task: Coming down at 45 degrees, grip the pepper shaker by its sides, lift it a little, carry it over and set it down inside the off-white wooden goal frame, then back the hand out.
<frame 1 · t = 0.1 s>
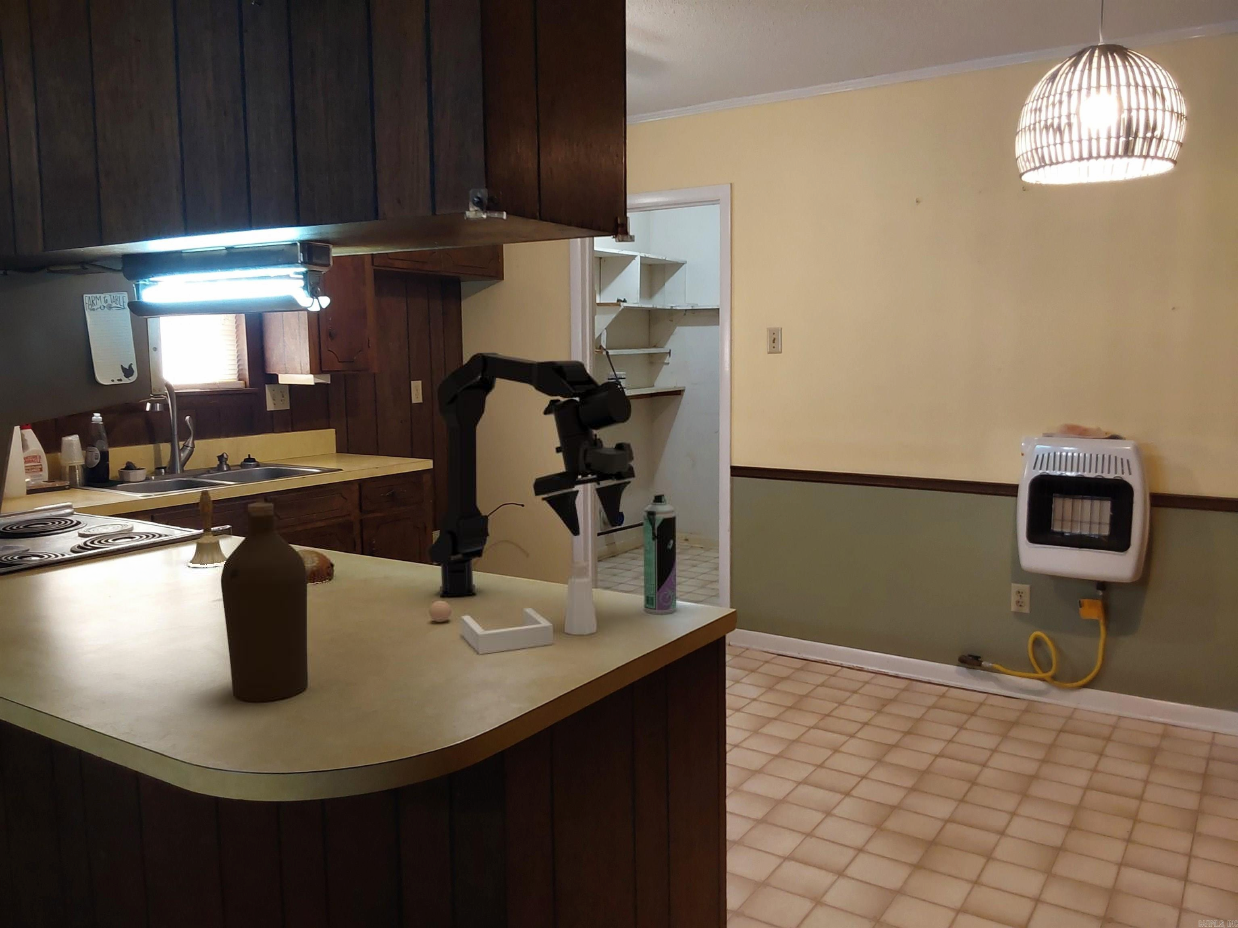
hand: (596, 531, 154), 15 cm above the counter, tool pointing down, fingers open, 9 cm apart
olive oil: (271, 691, 128), on the counter
pepper shaker: (580, 631, 153), on the counter
hand bell: (209, 565, 205), on the counter
bread roll: (308, 581, 190), on the counter
goal: (505, 638, 149), on the counter
spray can: (660, 611, 164), on the counter
ball: (440, 621, 159), on the counter
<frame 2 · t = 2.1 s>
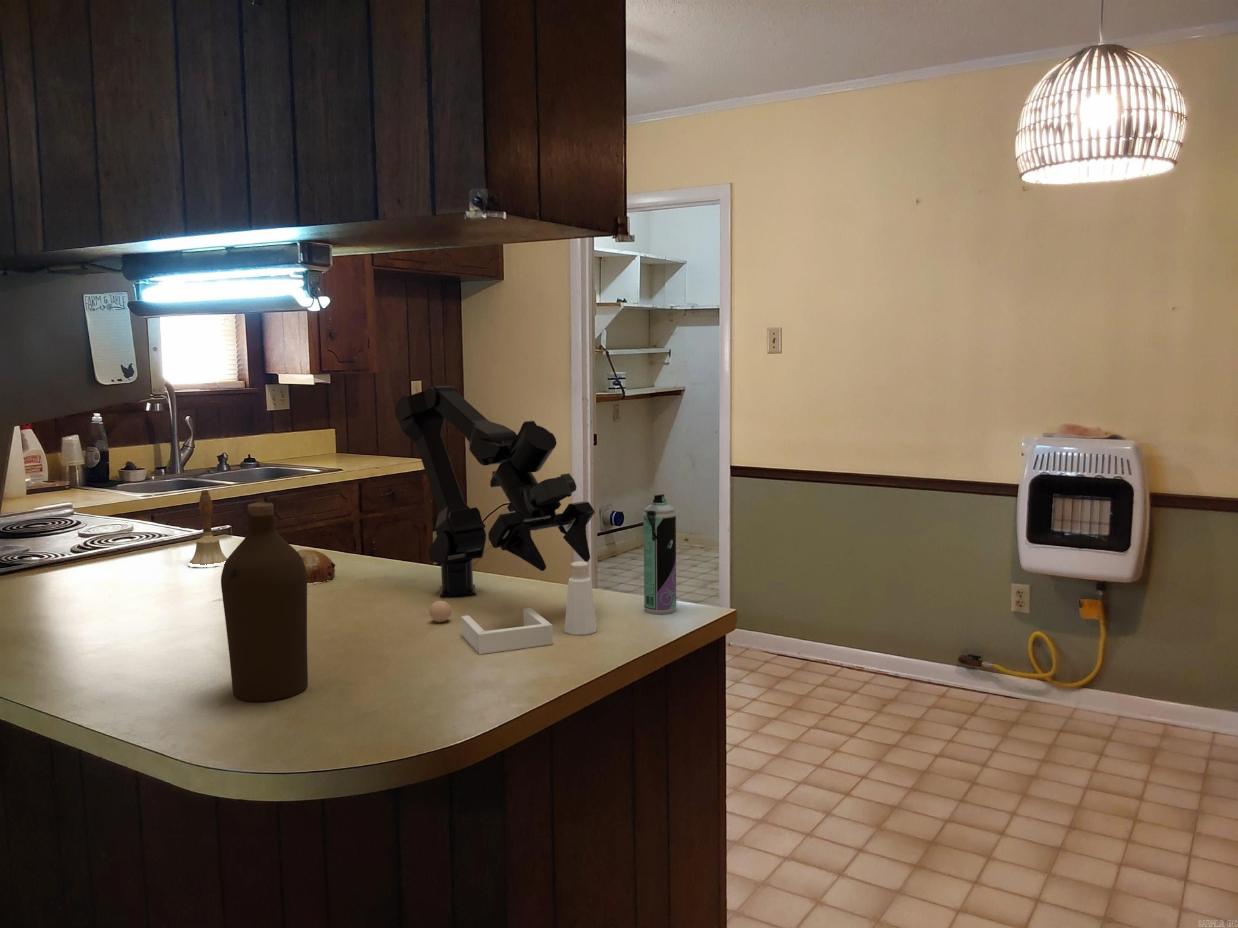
hand: (566, 564, 154), 10 cm above the counter, tool tilted 45°, fingers open, 9 cm apart
nothing on the counter moved.
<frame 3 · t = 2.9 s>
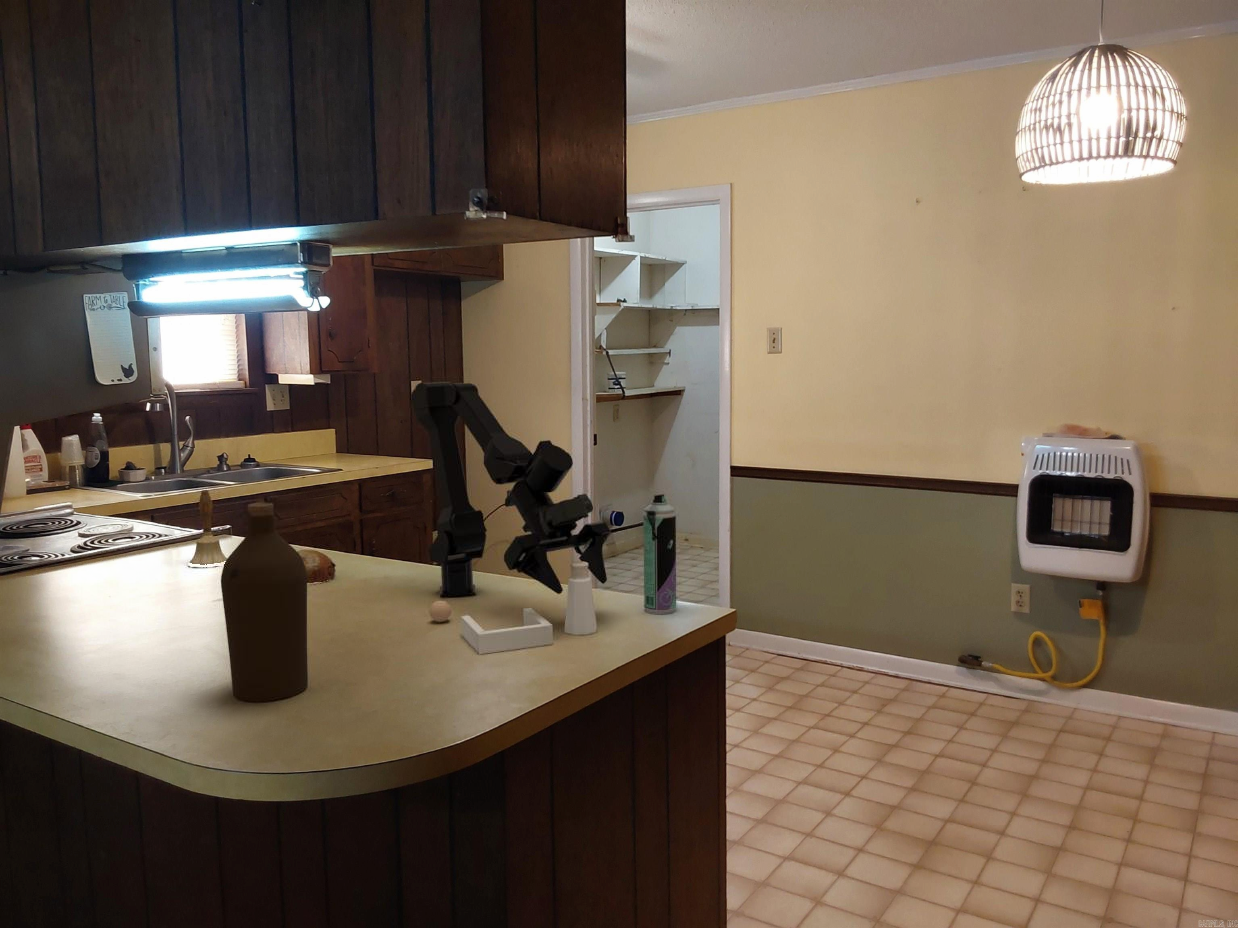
hand: (583, 587, 152), 7 cm above the counter, tool tilted 45°, fingers open, 9 cm apart
nothing on the counter moved.
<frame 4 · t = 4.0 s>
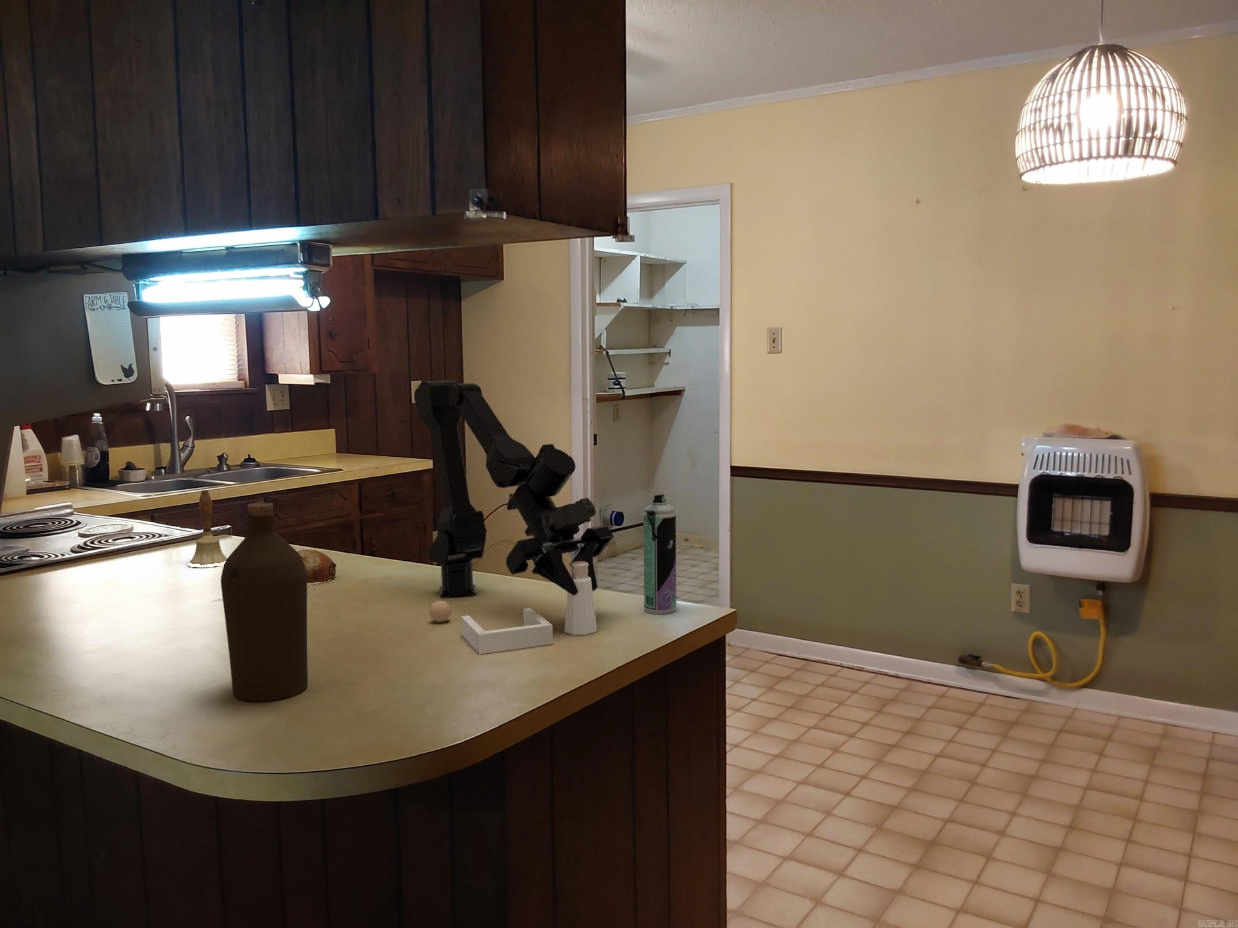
hand: (585, 591, 151), 7 cm above the counter, tool tilted 45°, fingers closed on pepper shaker, 4 cm apart
pepper shaker: (580, 631, 153), on the counter, touching gripper
everything else where it was.
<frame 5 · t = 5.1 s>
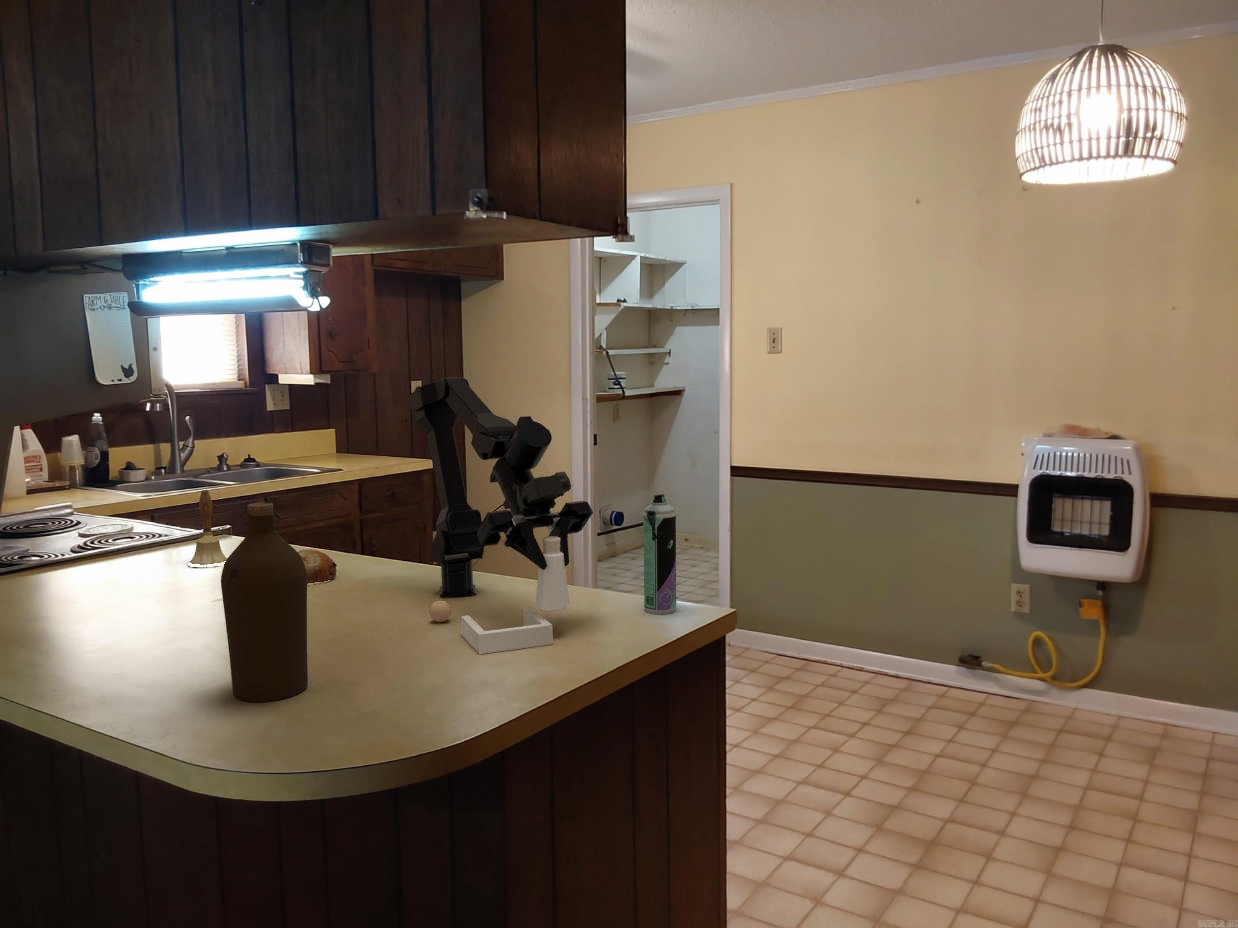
hand: (556, 566, 149), 11 cm above the counter, tool tilted 45°, fingers closed on pepper shaker, 4 cm apart
pepper shaker: (552, 607, 151), point 4 cm above the counter, touching gripper
everything else where it was.
when the fingers open (8 cm above the counter, at t = 6.4 s): pepper shaker drops 1 cm, on the counter.
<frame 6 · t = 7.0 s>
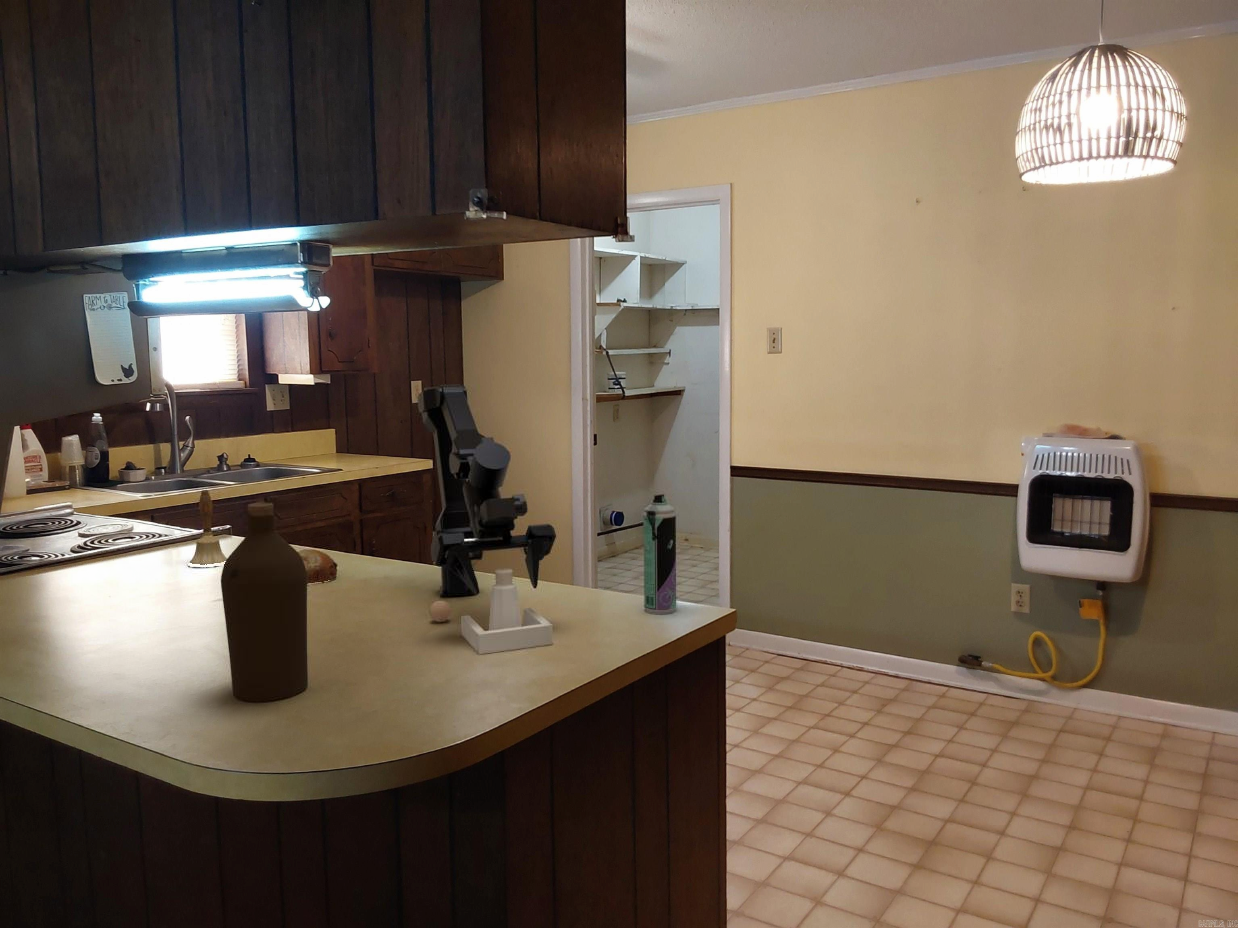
hand: (507, 590, 147), 8 cm above the counter, tool tilted 45°, fingers open, 9 cm apart
pepper shaker: (505, 640, 149), on the counter
everything else where it was.
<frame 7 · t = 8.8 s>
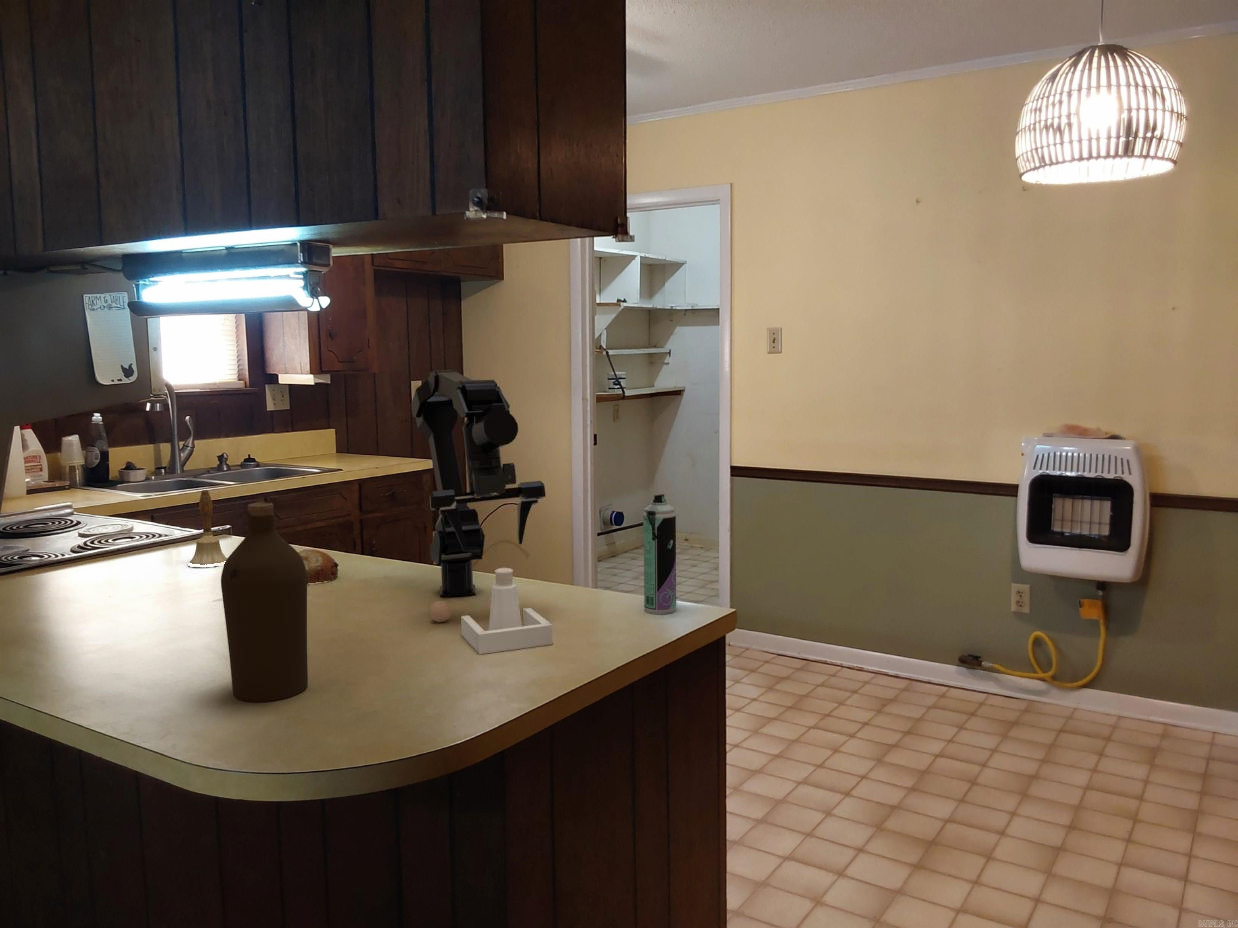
hand: (492, 547, 159), 12 cm above the counter, tool pointing down, fingers open, 9 cm apart
nothing on the counter moved.
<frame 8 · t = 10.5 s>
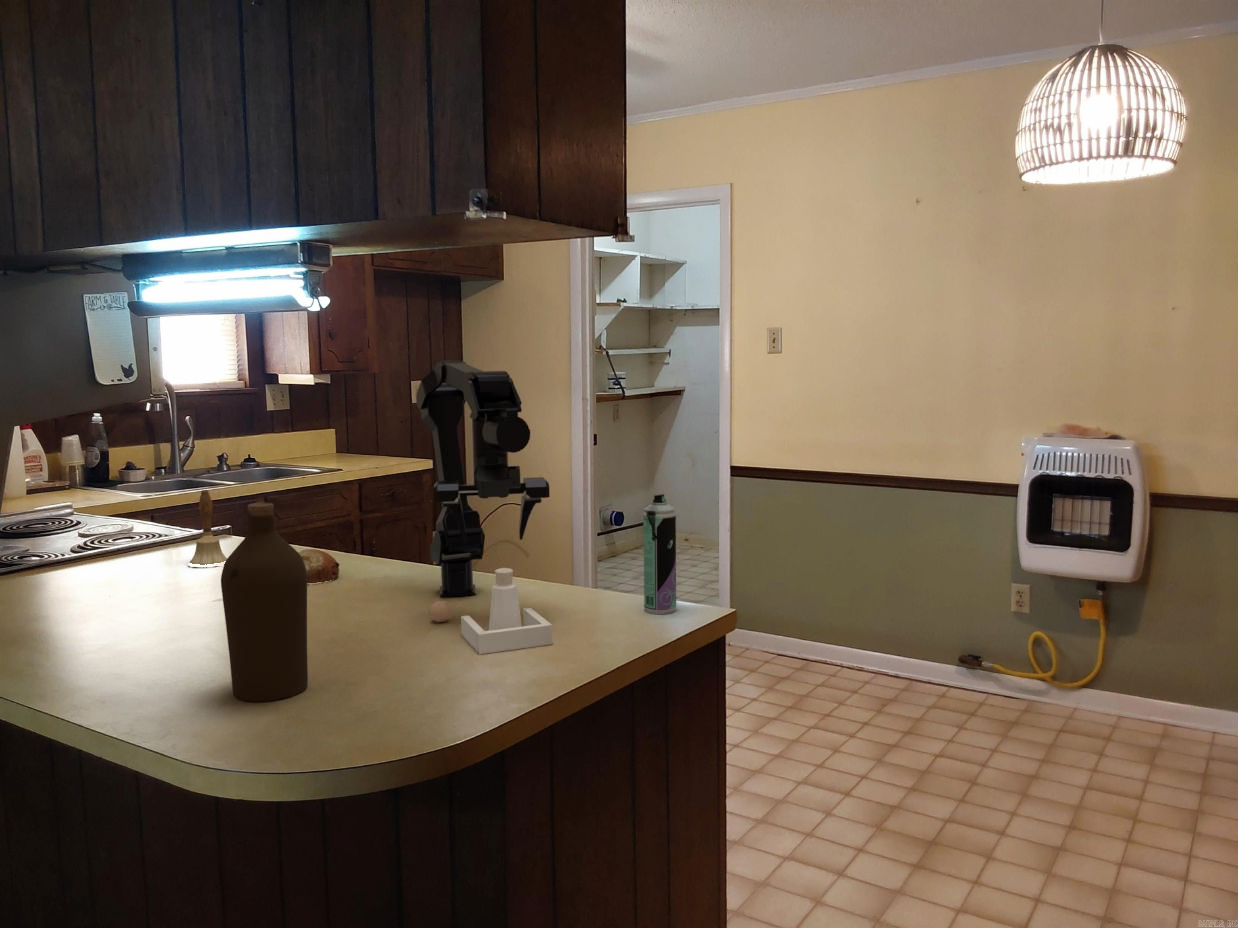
hand: (493, 540, 160), 13 cm above the counter, tool pointing down, fingers open, 9 cm apart
nothing on the counter moved.
at the end: pepper shaker inside the target area on the goal (0.1 cm from its centre), point 0.0 cm above the goal's base; pepper shaker tilted 0°; the gripper is holding nothing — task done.
